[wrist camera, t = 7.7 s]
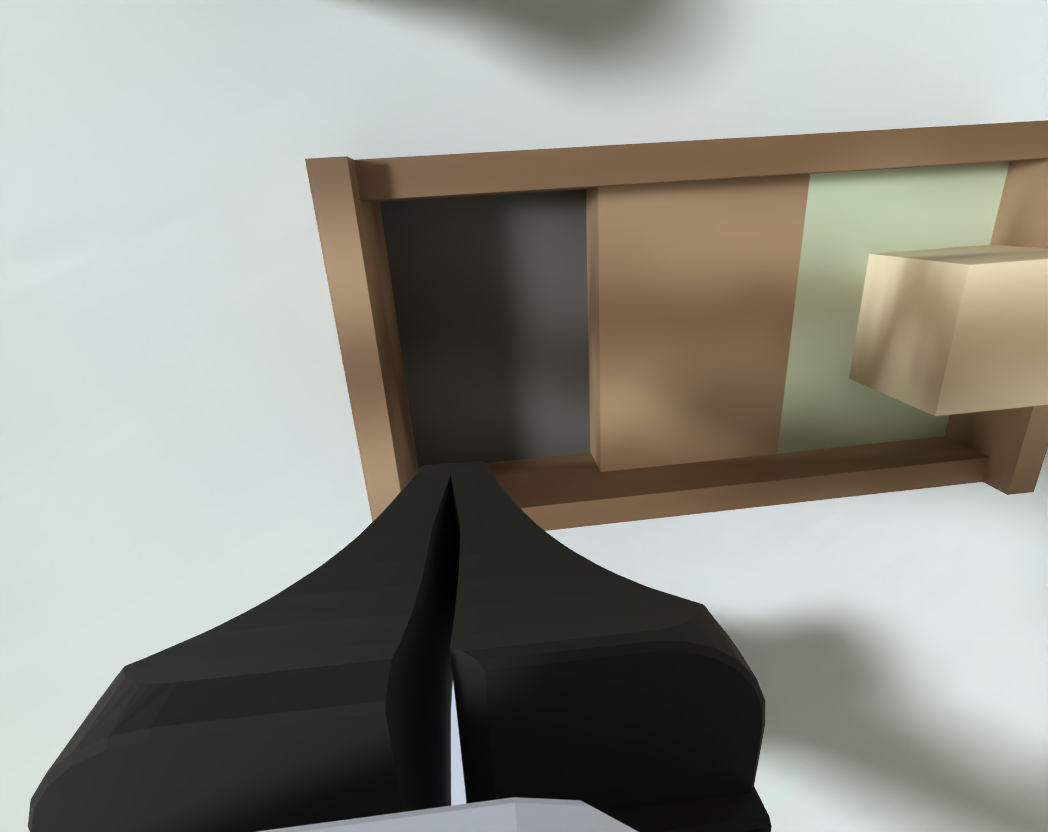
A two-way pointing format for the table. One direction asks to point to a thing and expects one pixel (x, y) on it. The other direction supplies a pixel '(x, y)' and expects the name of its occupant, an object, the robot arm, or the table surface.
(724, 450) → the wooden storage tray
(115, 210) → the table surface
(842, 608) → the table surface
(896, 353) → the block
